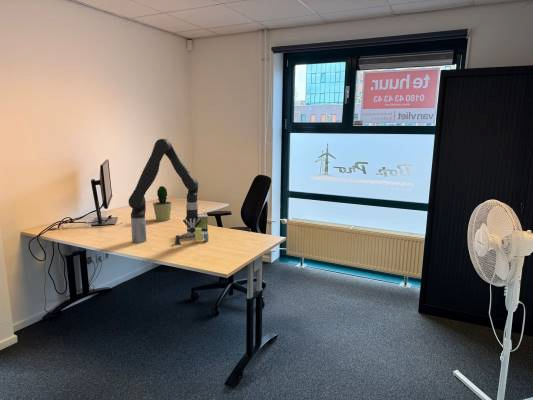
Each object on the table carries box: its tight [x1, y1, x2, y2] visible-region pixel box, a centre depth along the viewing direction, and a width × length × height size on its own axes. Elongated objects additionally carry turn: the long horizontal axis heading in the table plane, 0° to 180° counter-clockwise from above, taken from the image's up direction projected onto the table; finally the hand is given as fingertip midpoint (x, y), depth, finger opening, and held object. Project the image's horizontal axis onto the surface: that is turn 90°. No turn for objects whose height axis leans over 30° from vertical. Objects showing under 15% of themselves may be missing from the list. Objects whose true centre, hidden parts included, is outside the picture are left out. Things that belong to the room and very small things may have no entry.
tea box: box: [186, 213, 209, 236], centre depth 276 cm, size 15×10×15 cm
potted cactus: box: [152, 185, 173, 222], centre depth 319 cm, size 15×15×30 cm
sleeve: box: [194, 228, 204, 241], centre depth 259 cm, size 5×5×8 cm
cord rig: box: [174, 231, 209, 246], centre depth 258 cm, size 22×6×6 cm, turn 108°
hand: (192, 232), depth 257 cm, fingers closed
